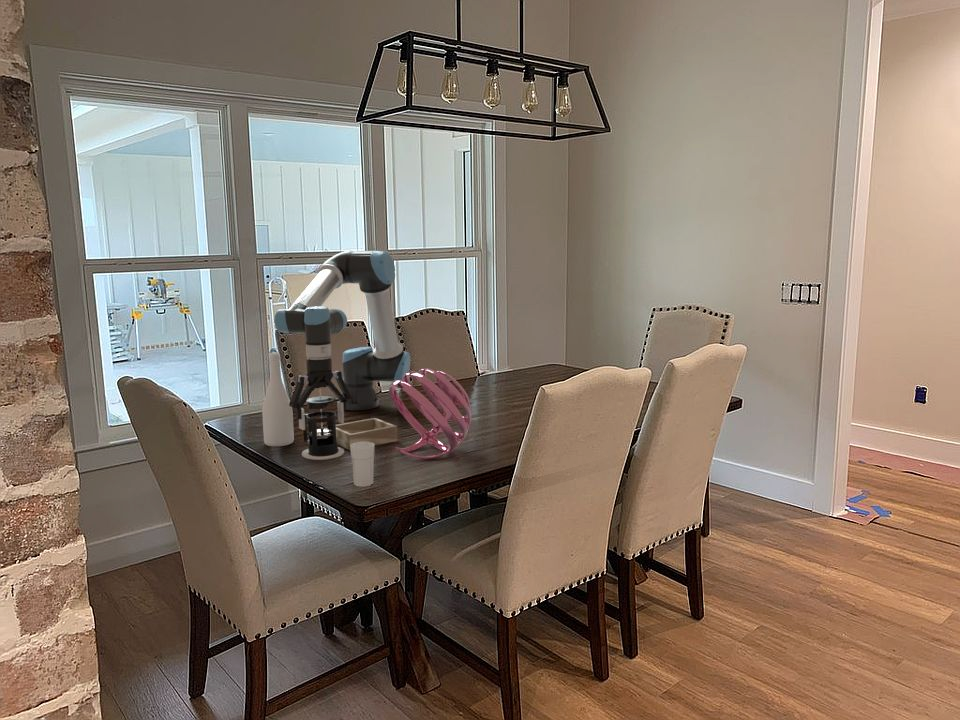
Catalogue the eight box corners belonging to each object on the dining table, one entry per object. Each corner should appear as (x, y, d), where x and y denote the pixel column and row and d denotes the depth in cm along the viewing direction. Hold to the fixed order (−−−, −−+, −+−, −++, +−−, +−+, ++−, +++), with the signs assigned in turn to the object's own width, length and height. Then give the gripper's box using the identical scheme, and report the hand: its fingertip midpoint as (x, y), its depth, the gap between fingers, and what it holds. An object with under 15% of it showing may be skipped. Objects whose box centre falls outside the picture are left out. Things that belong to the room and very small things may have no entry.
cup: (362, 489, 205) (360, 449, 203) (346, 484, 209) (345, 445, 208) (380, 483, 210) (379, 444, 208) (365, 478, 214) (363, 440, 212)
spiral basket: (375, 407, 215) (444, 346, 224) (352, 410, 240) (414, 355, 250) (437, 480, 220) (501, 418, 229) (408, 475, 245) (467, 419, 255)
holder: (329, 440, 252) (329, 426, 252) (375, 431, 263) (375, 417, 262) (350, 450, 241) (349, 435, 240) (397, 440, 252) (397, 426, 251)
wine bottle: (269, 439, 255) (264, 350, 250) (297, 439, 254) (292, 350, 249) (260, 447, 245) (254, 355, 240) (289, 447, 245) (284, 355, 240)
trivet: (295, 452, 239) (294, 450, 239) (332, 445, 247) (332, 443, 247) (313, 462, 229) (313, 460, 229) (351, 454, 237) (351, 452, 237)
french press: (346, 449, 240) (342, 377, 236) (330, 458, 231) (326, 383, 227) (314, 446, 244) (310, 375, 240) (297, 454, 235) (292, 381, 231)
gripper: (285, 363, 222) (289, 434, 226) (360, 354, 237) (362, 421, 241) (275, 360, 228) (279, 429, 232) (349, 351, 243) (351, 417, 247)
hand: (321, 425), depth 236 cm, fingers open, 12 cm apart
